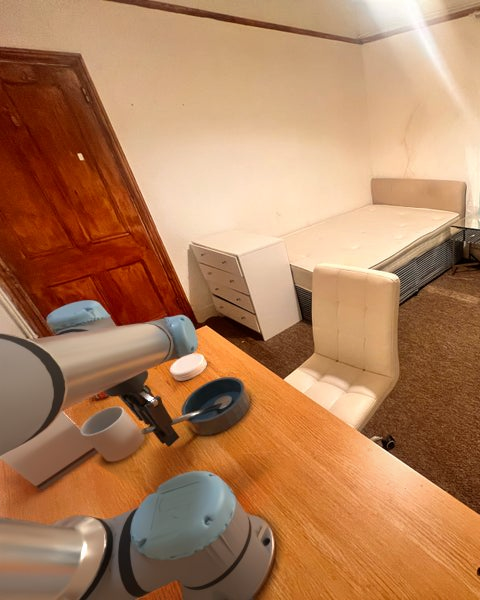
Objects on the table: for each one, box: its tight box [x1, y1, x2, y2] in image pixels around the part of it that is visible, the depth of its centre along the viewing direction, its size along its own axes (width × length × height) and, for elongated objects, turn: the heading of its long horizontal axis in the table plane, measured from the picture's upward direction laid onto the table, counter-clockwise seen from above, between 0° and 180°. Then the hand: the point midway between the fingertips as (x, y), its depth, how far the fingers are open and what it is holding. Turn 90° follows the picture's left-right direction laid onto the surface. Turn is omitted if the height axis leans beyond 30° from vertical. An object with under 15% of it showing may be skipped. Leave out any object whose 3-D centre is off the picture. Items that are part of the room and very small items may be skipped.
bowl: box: [180, 376, 251, 436], centre depth 87 cm, size 16×16×6 cm
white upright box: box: [0, 410, 99, 492], centre depth 69 cm, size 11×11×35 cm
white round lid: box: [169, 353, 208, 382], centre depth 103 cm, size 10×10×4 cm
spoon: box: [141, 396, 234, 435], centre depth 80 cm, size 20×5×12 cm, turn 157°
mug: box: [80, 405, 146, 463], centre depth 78 cm, size 12×8×11 cm
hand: (170, 440), depth 76 cm, fingers closed on spoon
